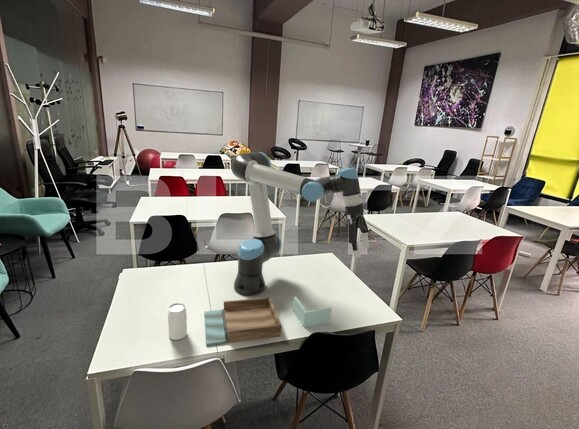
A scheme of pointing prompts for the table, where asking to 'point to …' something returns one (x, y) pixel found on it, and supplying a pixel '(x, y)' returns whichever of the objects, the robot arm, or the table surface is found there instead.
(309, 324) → the l-shaped corner panel
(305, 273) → the table surface
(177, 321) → the can
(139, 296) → the table surface
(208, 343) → the grooved wooden tray
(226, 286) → the table surface
